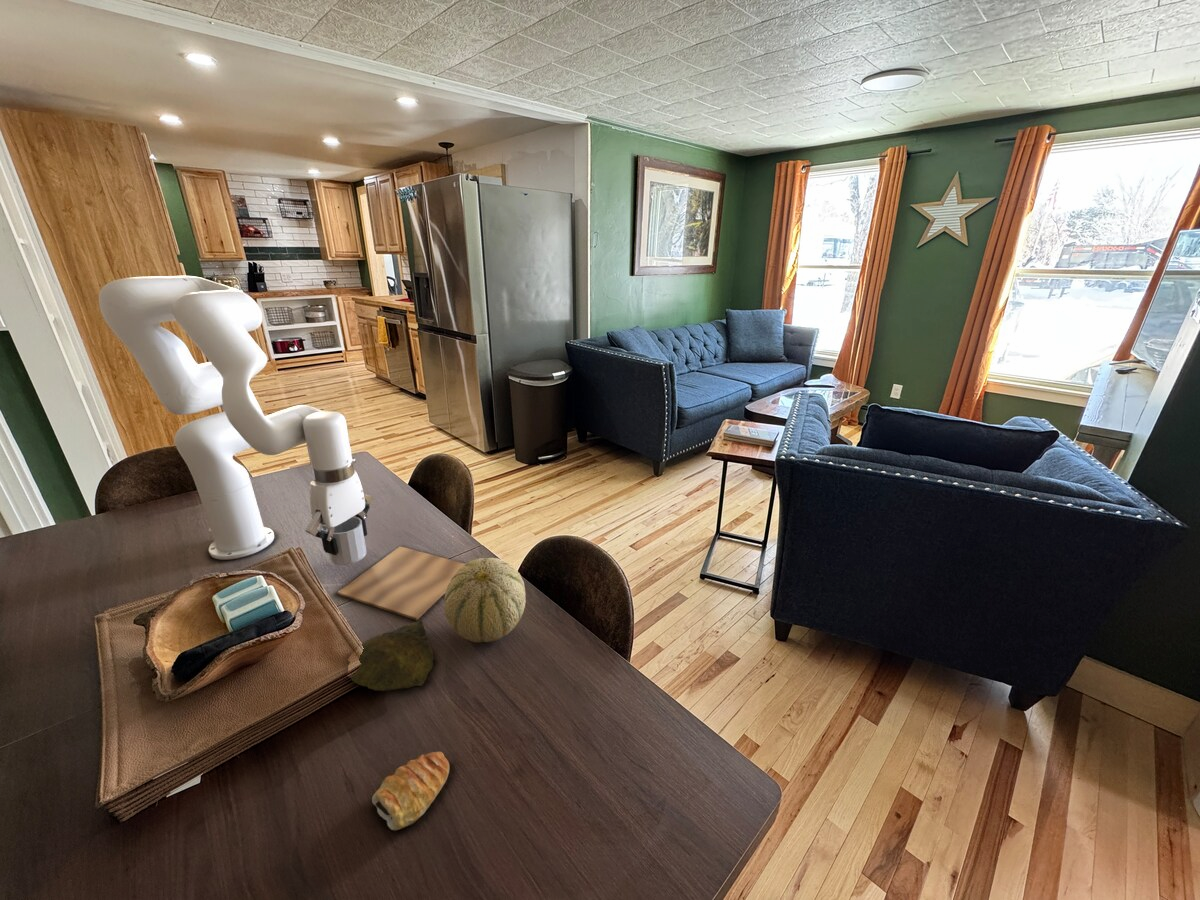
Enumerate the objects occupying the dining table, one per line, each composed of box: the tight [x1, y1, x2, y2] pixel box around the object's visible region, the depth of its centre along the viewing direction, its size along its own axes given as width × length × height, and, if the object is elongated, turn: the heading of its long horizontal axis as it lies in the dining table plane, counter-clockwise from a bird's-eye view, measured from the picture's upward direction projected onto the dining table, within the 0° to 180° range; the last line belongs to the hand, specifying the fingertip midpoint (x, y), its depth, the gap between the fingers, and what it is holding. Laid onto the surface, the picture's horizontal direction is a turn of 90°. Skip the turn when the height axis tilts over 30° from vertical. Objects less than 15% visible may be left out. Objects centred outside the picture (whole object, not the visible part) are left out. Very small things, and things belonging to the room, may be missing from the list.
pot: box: [325, 516, 368, 566], centre depth 104 cm, size 7×7×8 cm
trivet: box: [337, 545, 466, 621], centre depth 101 cm, size 20×18×1 cm
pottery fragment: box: [350, 619, 435, 692], centre depth 80 cm, size 13×14×4 cm
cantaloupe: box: [443, 557, 527, 643], centre depth 86 cm, size 15×15×15 cm
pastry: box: [371, 751, 450, 831], centre depth 61 cm, size 9×7×4 cm
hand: (346, 542), depth 104 cm, fingers closed on pot, 7 cm apart
